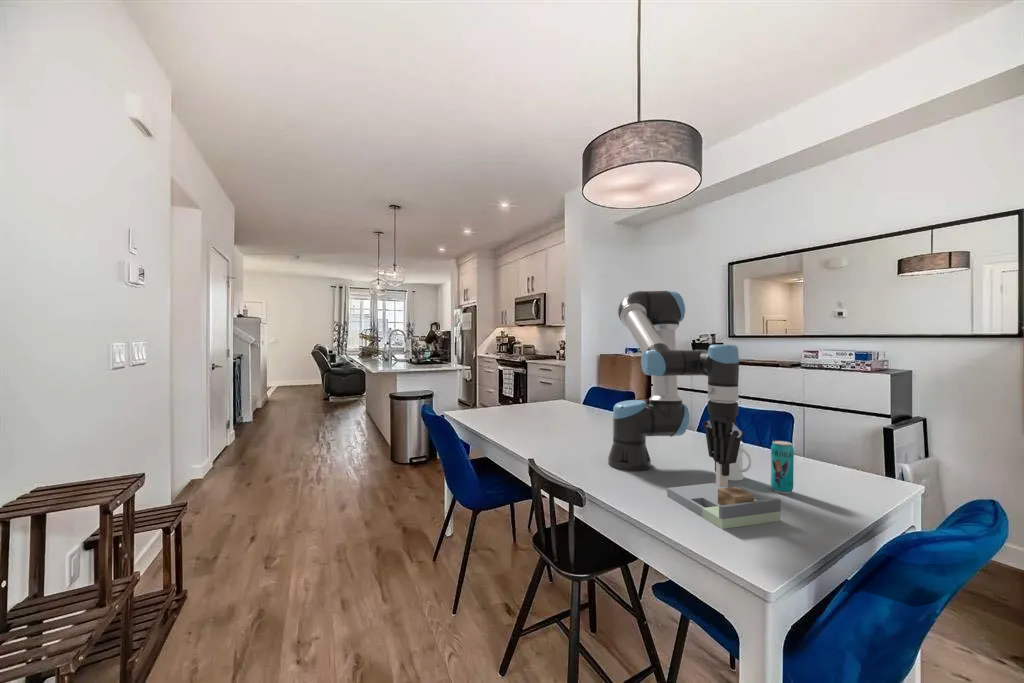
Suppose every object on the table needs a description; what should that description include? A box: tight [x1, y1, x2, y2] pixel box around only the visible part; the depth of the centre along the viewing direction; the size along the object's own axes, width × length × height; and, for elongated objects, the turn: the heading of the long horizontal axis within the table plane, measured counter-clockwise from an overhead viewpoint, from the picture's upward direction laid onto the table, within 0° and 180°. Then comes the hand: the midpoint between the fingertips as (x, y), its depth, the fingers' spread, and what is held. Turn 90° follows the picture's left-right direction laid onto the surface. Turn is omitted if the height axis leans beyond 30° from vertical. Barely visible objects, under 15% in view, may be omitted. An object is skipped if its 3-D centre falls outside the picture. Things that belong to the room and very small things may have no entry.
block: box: [718, 486, 755, 505], centre depth 111 cm, size 6×6×4 cm
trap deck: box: [666, 482, 782, 530], centre depth 116 cm, size 22×18×5 cm
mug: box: [714, 441, 752, 482], centre depth 140 cm, size 12×8×12 cm
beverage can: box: [770, 440, 795, 495], centre depth 128 cm, size 6×6×15 cm
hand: (721, 485), depth 115 cm, fingers closed
